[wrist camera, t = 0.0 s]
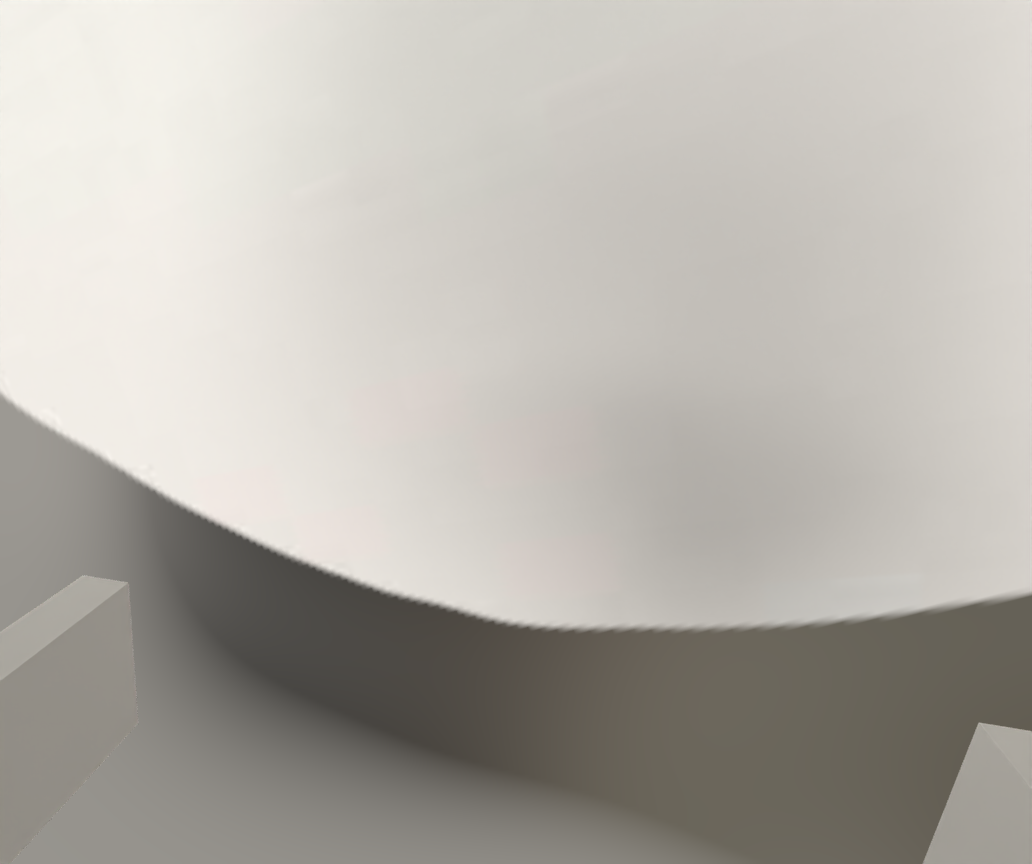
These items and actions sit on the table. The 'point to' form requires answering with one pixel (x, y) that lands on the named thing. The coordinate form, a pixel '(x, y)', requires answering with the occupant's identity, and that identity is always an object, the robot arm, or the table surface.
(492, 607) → the table surface
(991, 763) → the robot arm
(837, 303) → the table surface
